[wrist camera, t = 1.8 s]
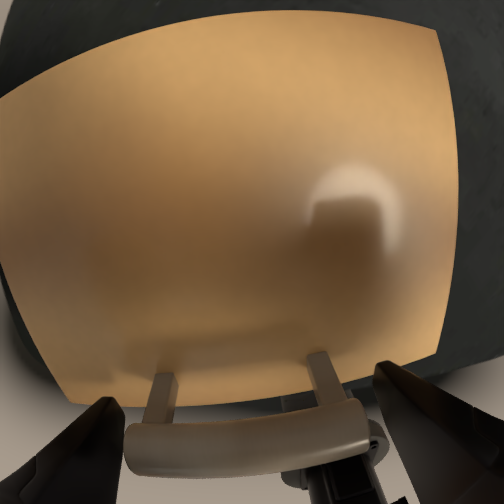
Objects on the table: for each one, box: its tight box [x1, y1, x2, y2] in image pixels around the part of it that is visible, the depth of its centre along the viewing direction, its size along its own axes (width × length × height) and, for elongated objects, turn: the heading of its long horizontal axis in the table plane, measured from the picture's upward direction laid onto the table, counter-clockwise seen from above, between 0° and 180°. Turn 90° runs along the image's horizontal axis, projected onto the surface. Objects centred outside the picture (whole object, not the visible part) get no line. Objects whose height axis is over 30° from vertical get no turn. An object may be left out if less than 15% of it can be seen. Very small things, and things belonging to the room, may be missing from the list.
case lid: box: [0, 10, 458, 479], centre depth 6 cm, size 12×15×5 cm
